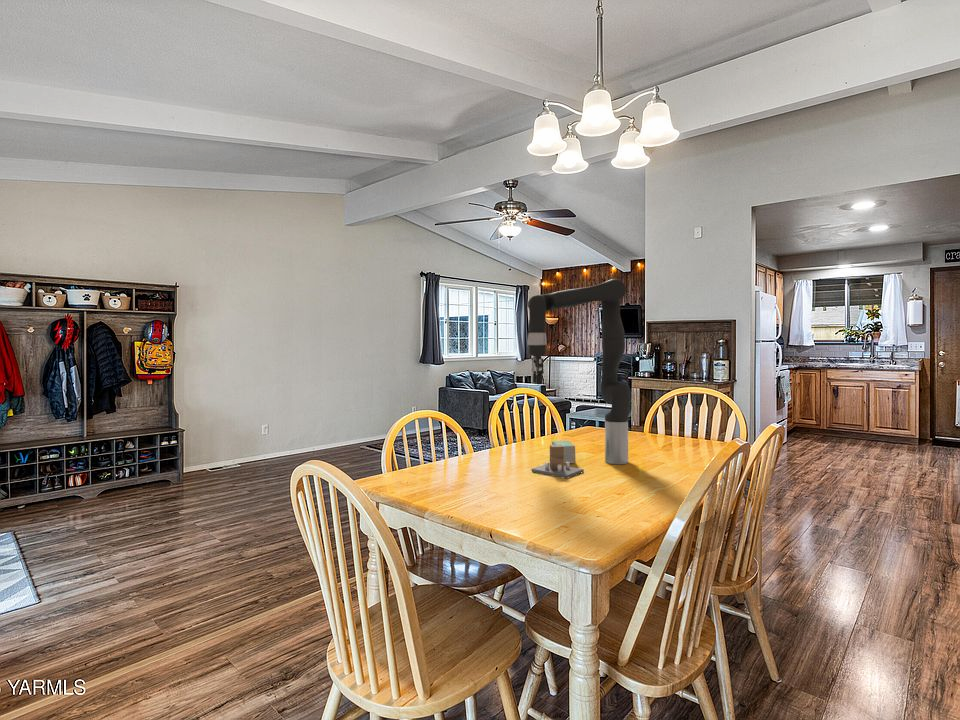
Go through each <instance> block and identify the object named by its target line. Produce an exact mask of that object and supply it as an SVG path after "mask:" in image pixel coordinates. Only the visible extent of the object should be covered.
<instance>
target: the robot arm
mask: <svg viewBox="0 0 960 720" xmlns="http://www.w3.org/2000/svg"><path fill="white" fill-rule="evenodd" d="M626 293H627V286H626V284H625V283H624V282H623V281H622V280H621V279H619V278H611V279H609V280H606V281H605V282H602V283H599V284H594V285H591V286H587V287H585V286H584V287H580V288H579V287H577V288H571V289H565V290H559V291H555V292H551V293H546V294H545V293H544V294H534V295H532V296H530V298H529V300H528V301H527V307H528V311H529V313H528V314H529V320H528V335H527V336H528V337H527V356H531V372H532V383H534V384H536V385H542V384H543V375H544V358H542V357H543V356H545V357H546V356H547V354H548V353H547V350H548V349H547V333H546V332H547V329H546V327H547V326H546V317H547V311H551V310H559V309H566V308H571V307H575V306H578V305H579V306H580V305H583V304H588V303H593V302H601V303H600V304H601V314H602V317H601V318H602V319H601V320H602V322H601V349H602V351H601V353H602V369H601V371H602V372H601V384H600V385H601V386H600V393H601V394H600V395H601V398H602V400H603V401H604V402H605V403H607V404H611V408H610V411H608V412H606V413H605V415H604V462H605V463H606V462H607V463H606V464H611V465H626V464H628V463H629V416H630V413H631V403H632V402H631V401H632V399H631V398H632V395H631V394H632V393H631V389H630V386H629V385H628V384H627V383H626V382H620V381H618V371H619V370H618V369H619V366H620V364H621V362H622V359H623V357H624V355H625V350H626V336H625V334H626V333H625V329H624V325H623V321H622V317H621V300H622V299H623V298H624V297H625V295H626Z"/></svg>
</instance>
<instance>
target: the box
mask: <svg viewBox="0 0 960 720" xmlns="http://www.w3.org/2000/svg"><path fill="white" fill-rule="evenodd" d="M551 445H562V446H563V447H564V465H566V464H565V463H566V462H570V463H575V464H576V445H575V444H573V443H572V442H571V441H569V440H553V441H551Z"/></svg>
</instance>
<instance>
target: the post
mask: <svg viewBox="0 0 960 720" xmlns="http://www.w3.org/2000/svg"><path fill="white" fill-rule="evenodd" d="M549 463H550V469H551V470H558V465H559V464H560V465H562V470H564V466H565V464H564V447H563V446H562V445H552V444H549Z"/></svg>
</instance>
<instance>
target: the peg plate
mask: <svg viewBox="0 0 960 720" xmlns="http://www.w3.org/2000/svg"><path fill="white" fill-rule="evenodd" d="M531 471H532V473H535V472H537V474H540V473H542V474H541V475H546V474H547V476H551V475H553V476H552V477H556V476H558V478H561V477H564V478H563V479H569V478H568V477H570V478H572V477H574V476H573V475H575V476H577V475H576V474H578V475H580V474H582V473H581V472H583V473H584V471H585V470H584V468H578V467H574V466H571V464H570V462H566V464H565V465H564V470H562V465H560V464H559V465H558V470H551V469H550V462H545V464H542V465H538V466H535V467H532V468H531ZM579 473H580V474H579ZM571 476H572V477H571Z"/></svg>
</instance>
